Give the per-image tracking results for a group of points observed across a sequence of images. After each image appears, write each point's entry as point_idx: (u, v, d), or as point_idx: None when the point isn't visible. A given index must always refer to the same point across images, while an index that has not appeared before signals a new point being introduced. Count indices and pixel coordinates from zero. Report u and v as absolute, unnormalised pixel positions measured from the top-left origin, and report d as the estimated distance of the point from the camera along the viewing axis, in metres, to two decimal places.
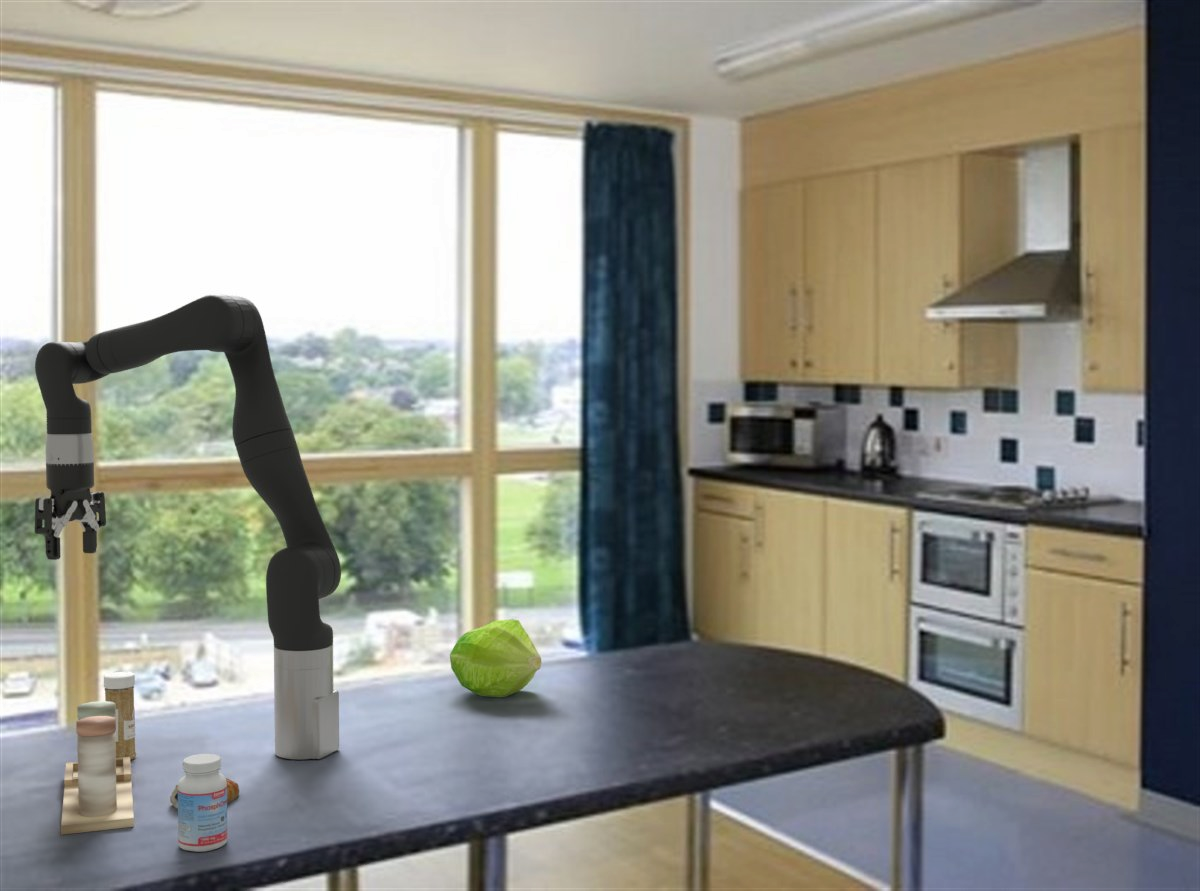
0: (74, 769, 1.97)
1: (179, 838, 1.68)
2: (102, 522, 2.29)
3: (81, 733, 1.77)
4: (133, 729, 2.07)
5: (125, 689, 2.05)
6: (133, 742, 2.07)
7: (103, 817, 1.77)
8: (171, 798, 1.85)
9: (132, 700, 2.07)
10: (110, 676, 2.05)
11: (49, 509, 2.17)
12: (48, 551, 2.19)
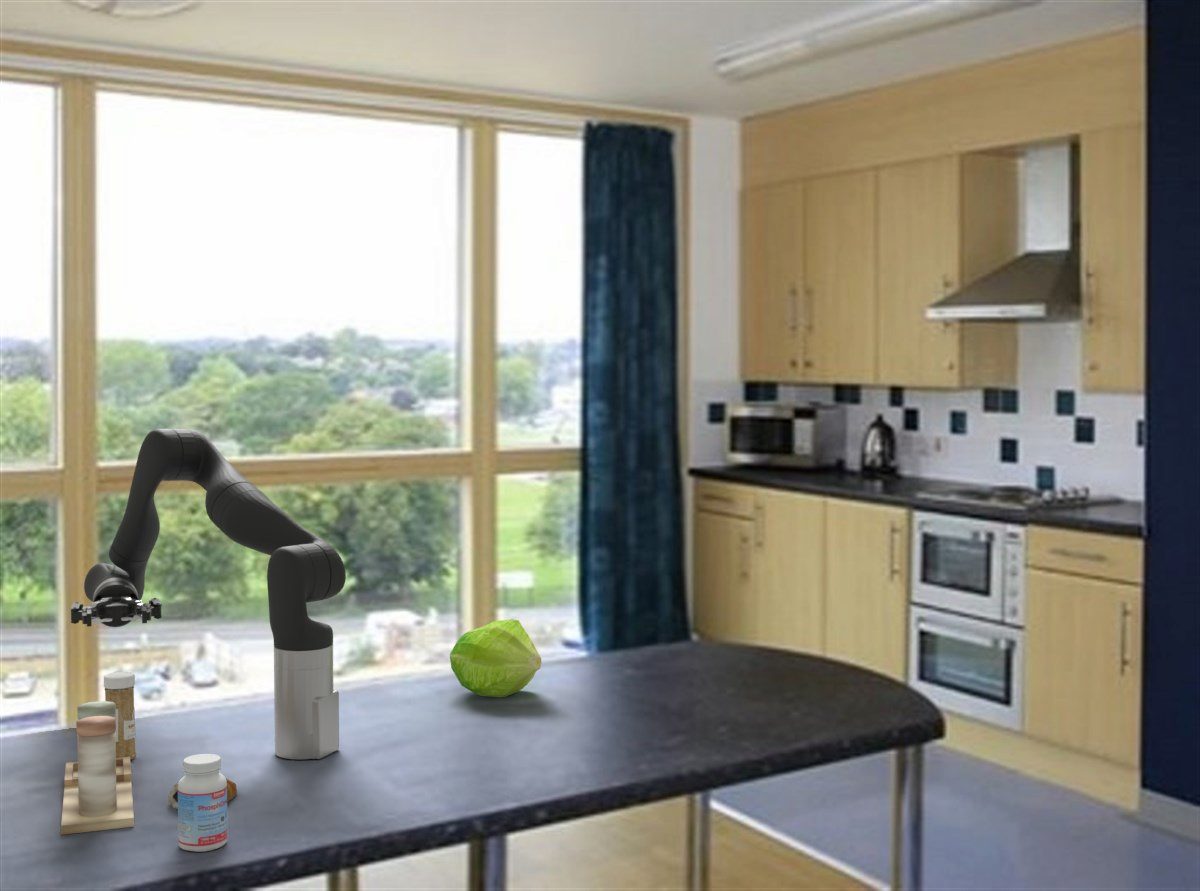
0: (74, 769, 1.97)
1: (179, 838, 1.68)
2: (155, 603, 2.23)
3: (81, 733, 1.77)
4: (133, 729, 2.07)
5: (125, 689, 2.05)
6: (133, 742, 2.07)
7: (103, 817, 1.77)
8: (169, 798, 1.85)
9: (132, 700, 2.07)
10: (110, 676, 2.05)
11: (76, 604, 2.22)
12: None
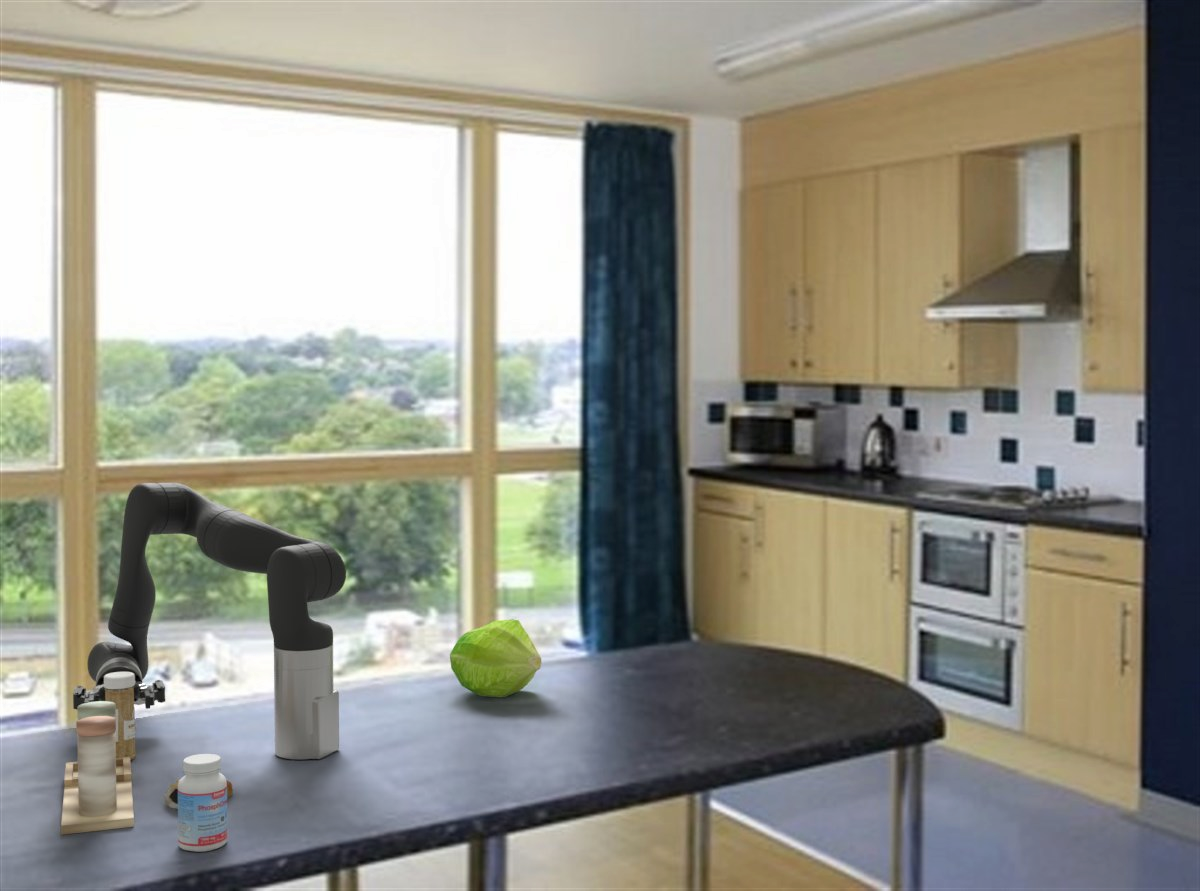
0: (74, 769, 1.97)
1: (179, 838, 1.68)
2: (159, 687, 2.20)
3: (81, 733, 1.77)
4: (133, 729, 2.07)
5: (125, 689, 2.05)
6: (133, 742, 2.07)
7: (103, 817, 1.77)
8: (165, 798, 1.85)
9: (132, 700, 2.07)
10: (110, 676, 2.05)
11: (78, 688, 2.19)
12: None
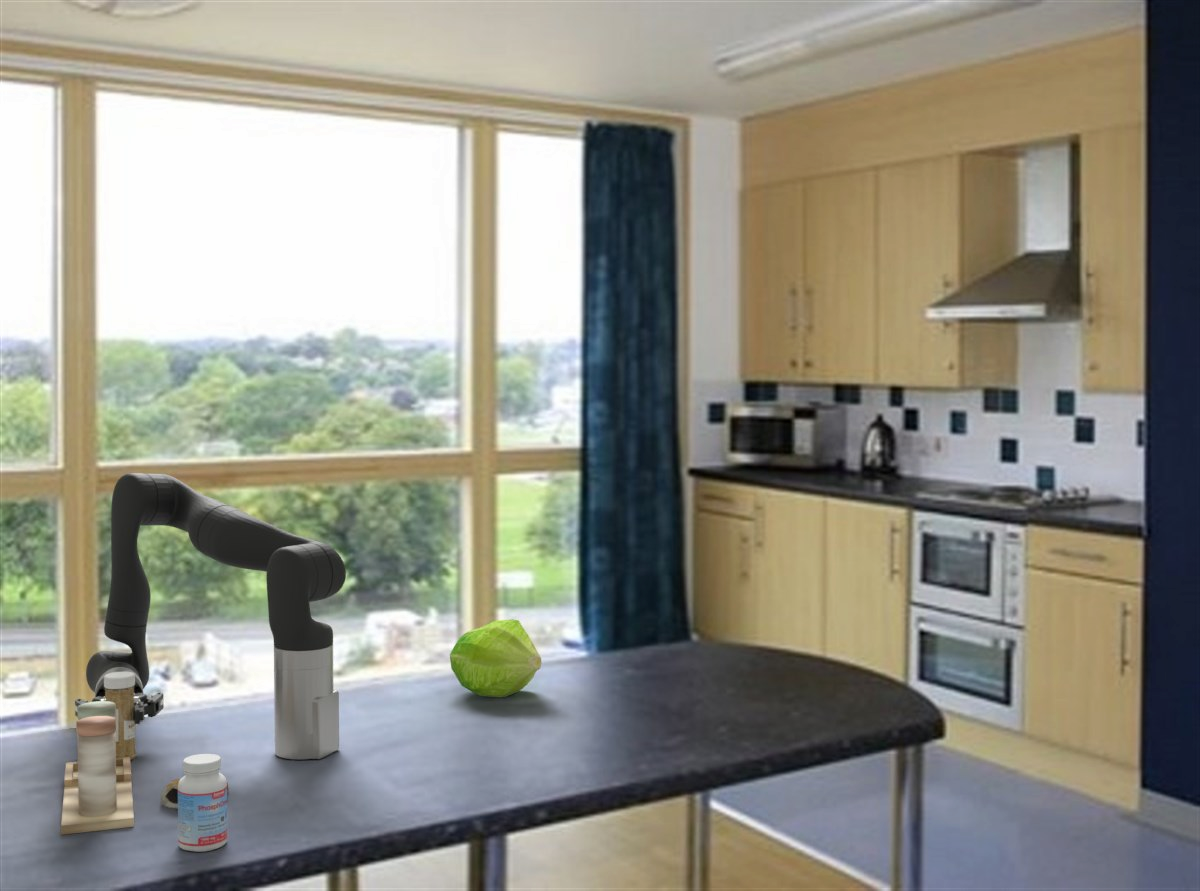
0: (74, 769, 1.97)
1: (179, 838, 1.68)
2: (149, 700, 2.11)
3: (81, 733, 1.77)
4: (133, 729, 2.07)
5: (125, 689, 2.05)
6: (133, 742, 2.07)
7: (103, 817, 1.77)
8: (162, 797, 1.85)
9: (132, 700, 2.07)
10: (110, 676, 2.05)
11: (81, 701, 2.10)
12: None
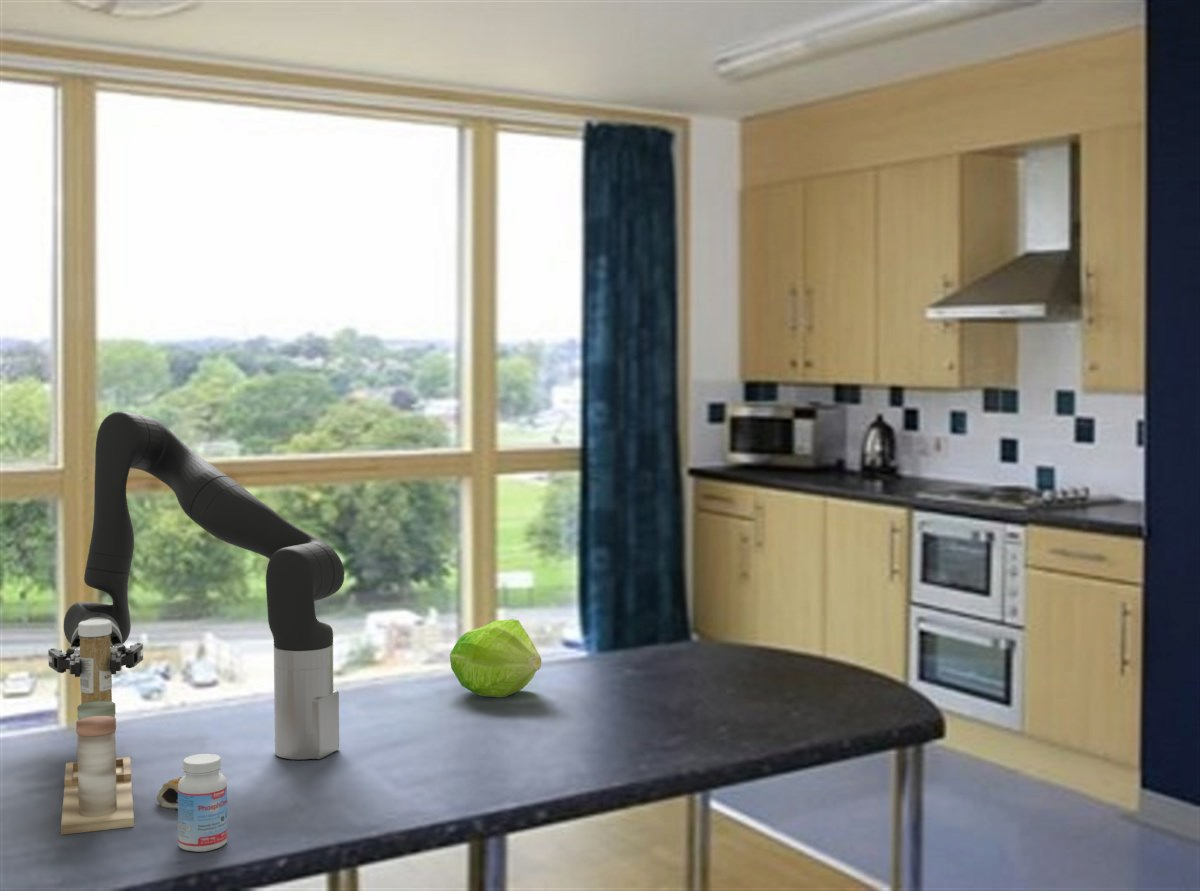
0: (74, 769, 1.97)
1: (179, 838, 1.68)
2: (127, 650, 1.98)
3: (81, 733, 1.77)
4: (110, 680, 1.94)
5: (101, 637, 1.93)
6: (109, 694, 1.94)
7: (103, 817, 1.77)
8: (158, 797, 1.85)
9: (108, 649, 1.94)
10: (85, 623, 1.93)
11: (54, 651, 1.98)
12: None
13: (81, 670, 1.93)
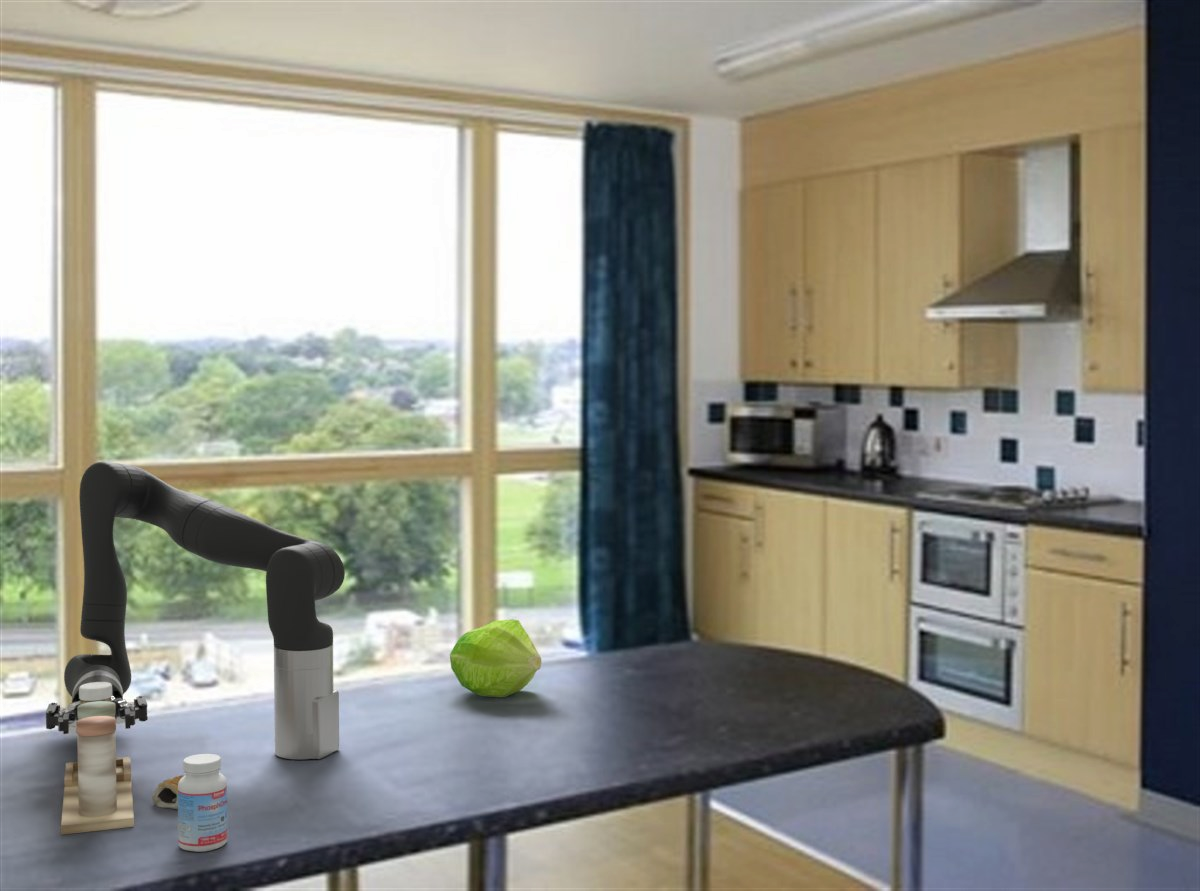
0: (74, 769, 1.97)
1: (179, 838, 1.68)
2: (140, 704, 2.00)
3: (81, 733, 1.77)
4: None
5: None
6: None
7: (103, 817, 1.77)
8: (154, 797, 1.85)
9: None
10: (86, 687, 1.93)
11: (52, 705, 1.99)
12: None
13: None
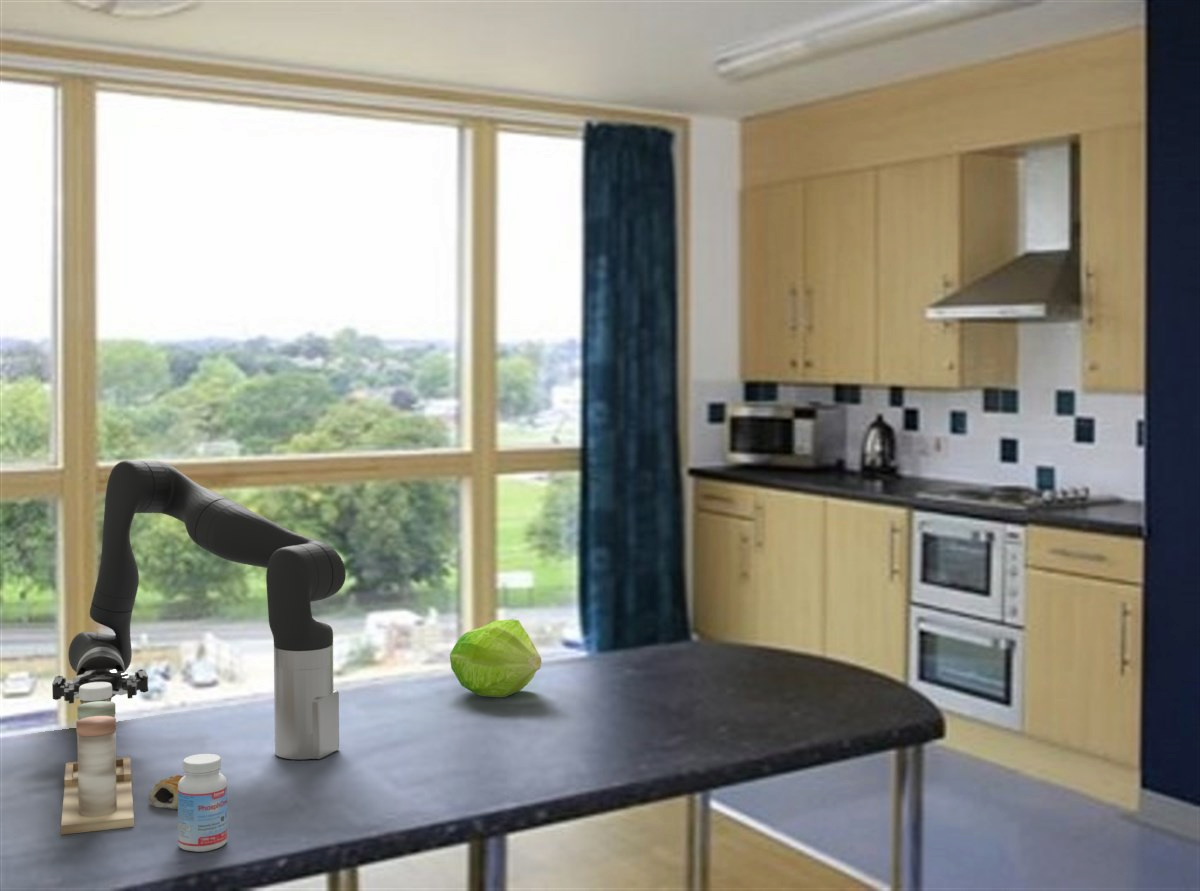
0: (74, 769, 1.97)
1: (179, 838, 1.68)
2: (141, 676, 2.13)
3: (81, 733, 1.77)
4: None
5: None
6: None
7: (103, 817, 1.77)
8: (150, 797, 1.85)
9: None
10: (86, 687, 1.93)
11: (58, 678, 2.11)
12: None
13: None
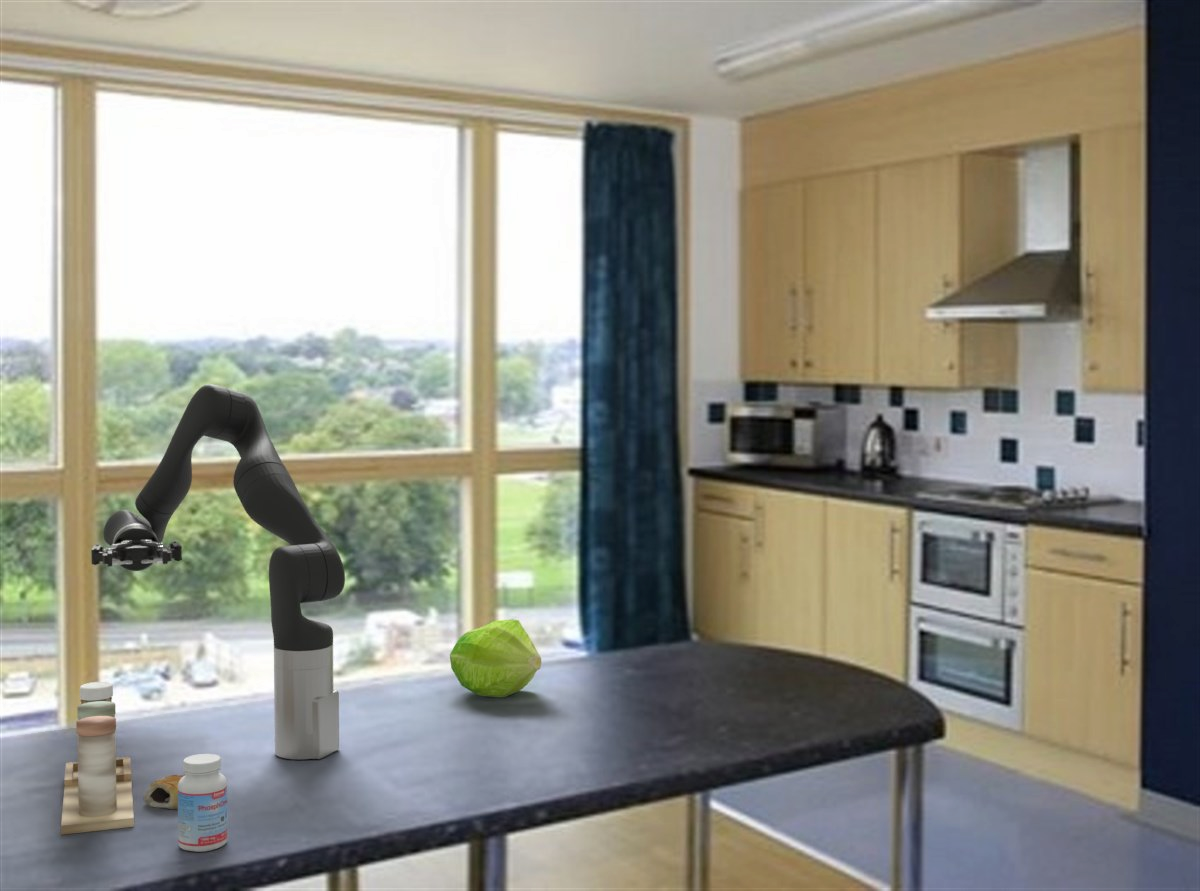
0: (74, 769, 1.97)
1: (179, 838, 1.68)
2: (175, 545, 2.23)
3: (81, 733, 1.77)
4: None
5: None
6: None
7: (103, 817, 1.77)
8: (146, 797, 1.85)
9: None
10: (86, 687, 1.93)
11: (96, 546, 2.22)
12: None
13: None
